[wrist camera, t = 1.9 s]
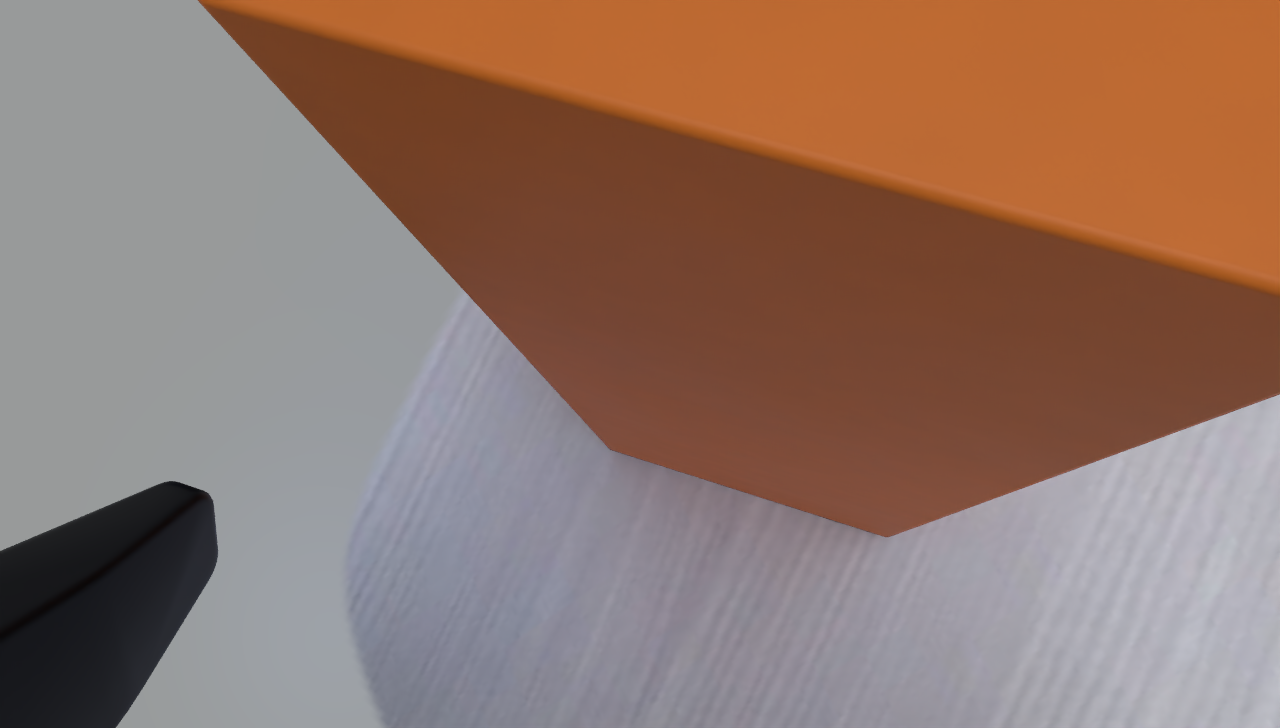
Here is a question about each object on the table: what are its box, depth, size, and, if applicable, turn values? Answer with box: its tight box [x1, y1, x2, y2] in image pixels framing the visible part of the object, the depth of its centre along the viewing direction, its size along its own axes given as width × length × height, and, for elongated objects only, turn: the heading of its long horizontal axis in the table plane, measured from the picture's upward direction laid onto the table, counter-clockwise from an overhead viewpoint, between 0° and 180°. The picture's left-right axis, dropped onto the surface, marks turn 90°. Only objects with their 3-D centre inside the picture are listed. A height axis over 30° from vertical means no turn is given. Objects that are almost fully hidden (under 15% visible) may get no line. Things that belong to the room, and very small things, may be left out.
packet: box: [198, 0, 1280, 537], centre depth 14 cm, size 5×6×18 cm
